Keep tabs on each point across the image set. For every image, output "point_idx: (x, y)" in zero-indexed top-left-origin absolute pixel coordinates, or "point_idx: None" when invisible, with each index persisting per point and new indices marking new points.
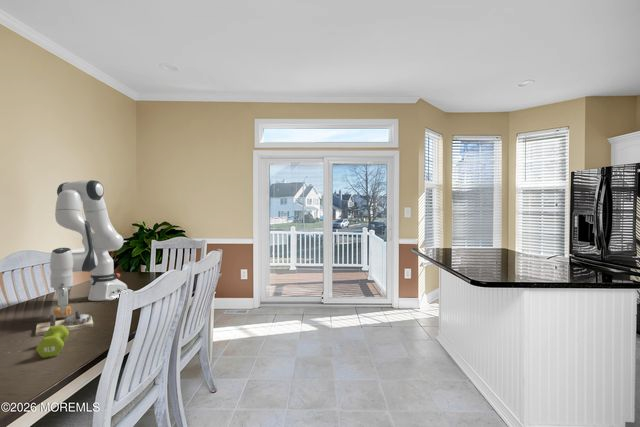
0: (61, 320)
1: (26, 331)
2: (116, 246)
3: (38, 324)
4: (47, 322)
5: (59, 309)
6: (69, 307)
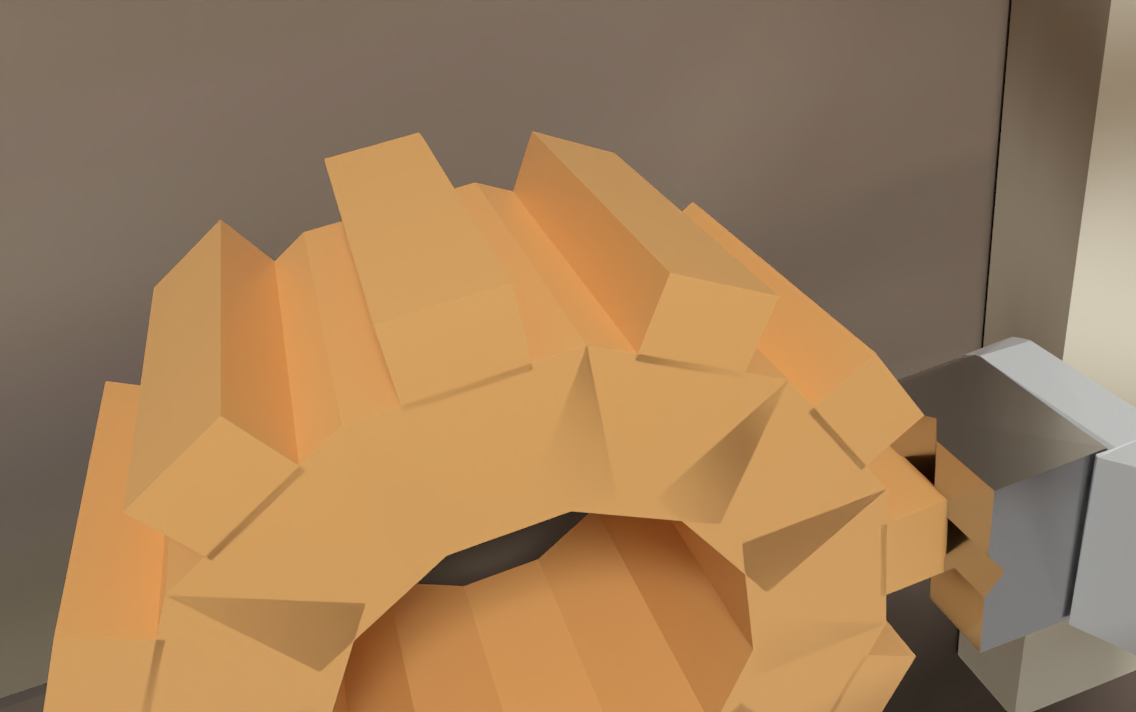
0: (1113, 258)
1: (1111, 699)
2: None
3: (1085, 672)
4: None
5: (765, 708)
6: (574, 367)
